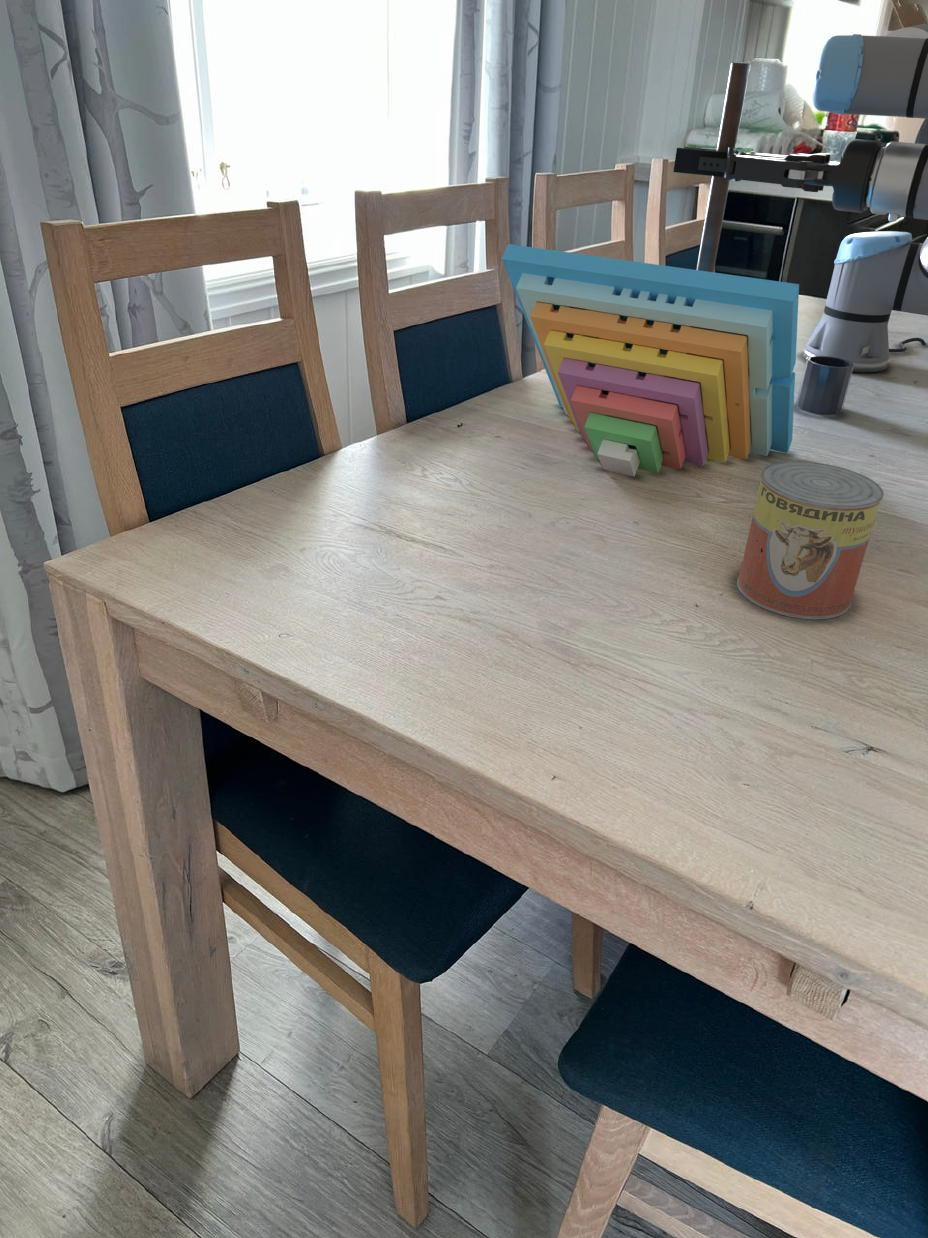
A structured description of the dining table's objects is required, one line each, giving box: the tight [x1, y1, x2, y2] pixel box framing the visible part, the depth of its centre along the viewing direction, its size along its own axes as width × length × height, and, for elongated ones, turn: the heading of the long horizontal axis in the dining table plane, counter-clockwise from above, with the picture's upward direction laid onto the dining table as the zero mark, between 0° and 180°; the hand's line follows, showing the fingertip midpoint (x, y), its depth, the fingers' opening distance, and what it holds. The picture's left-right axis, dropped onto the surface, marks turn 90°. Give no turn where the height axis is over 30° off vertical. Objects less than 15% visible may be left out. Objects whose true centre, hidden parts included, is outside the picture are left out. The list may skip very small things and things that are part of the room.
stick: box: [696, 62, 751, 273], centre depth 116 cm, size 2×2×24 cm
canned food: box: [736, 460, 885, 621], centre depth 93 cm, size 11×11×12 cm
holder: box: [795, 356, 854, 416], centre depth 149 cm, size 7×7×8 cm
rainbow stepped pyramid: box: [501, 243, 800, 478], centre depth 123 cm, size 35×18×35 cm
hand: (680, 159), depth 118 cm, fingers closed on stick, 2 cm apart
